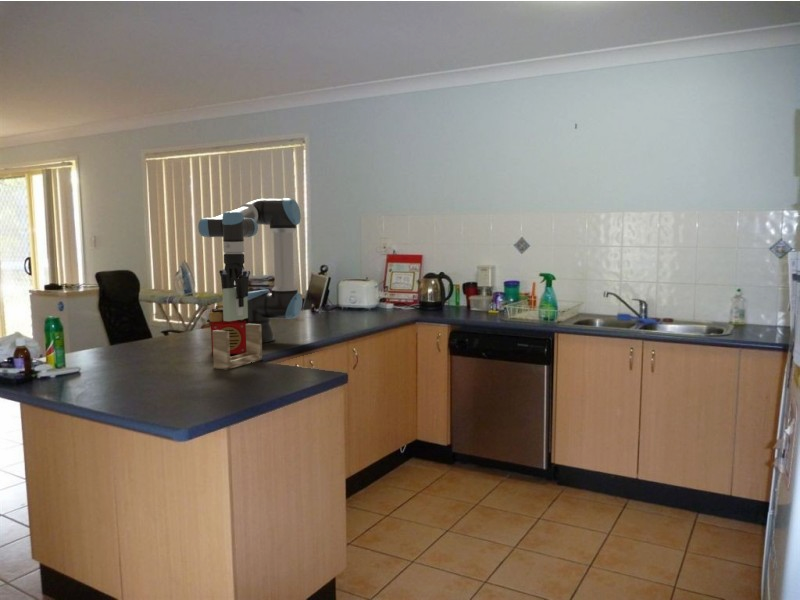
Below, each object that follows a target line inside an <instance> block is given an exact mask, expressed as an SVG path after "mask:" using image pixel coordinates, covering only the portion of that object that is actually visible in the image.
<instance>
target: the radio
mask: <svg viewBox="0 0 800 600" xmlns="http://www.w3.org/2000/svg"><path fill="white" fill-rule="evenodd" d="M208 317H209V318H208V319H209V322H210V335H211V337H210V338H211V339H210V340H211V353H212V356H213V332H212V331H213V330H223V331H229V343H230V355H239V354H243V353H246V323H247V324H248V323H249V315H248V318H245V319H240V320H234V321H223V304H217V305H216V306H215V307H214V308H211V310H210V311H209V313H208Z"/></svg>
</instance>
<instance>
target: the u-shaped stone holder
mask: <svg viewBox="0 0 800 600" xmlns="http://www.w3.org/2000/svg"><path fill="white" fill-rule="evenodd" d="M212 332H213V355H212V356H213V357H212V358H213V369H218V370H227V371H228V370H230V369H234V368H237V367H241V366H243V365H248V364H251V362H252V363H255V362H259V361H261V360H263V343H262V332H261V324H250V323H248V324H246V353H243V354H234V355H233V356H231V354H230V343H229V331H223V330H213V331H212Z"/></svg>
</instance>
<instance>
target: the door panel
mask: <svg viewBox="0 0 800 600" xmlns="http://www.w3.org/2000/svg"><path fill="white" fill-rule="evenodd" d="M221 290H222V291H221V292H223V293H222V305H223V308H222V309H223V321H234V320H240V319H245V318H248V304H247V297H244V306H243V315H241V316H236V299H237V298H236V297H237V290H236V286H234V288H225V289H222V288H221Z"/></svg>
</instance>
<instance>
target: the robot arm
mask: <svg viewBox="0 0 800 600" xmlns="http://www.w3.org/2000/svg"><path fill="white" fill-rule="evenodd" d="M301 218H302V217H301V209H300V206H299V204H298V202H297V201H296V200H295V199H294V198H288V197H287V198H286V197H283V198H280V197H279V198H275V197H274V198H258V199H255V200H251V201H249V202H246V203H243V204H241V205H240V206H239V207H238V208H237V209H233V210H231V211H224V212H223V213H222V214H220V215H217V216H214V217H203V218H200V220H199V221H198V225H197V228H198V229H197V230H198V233H199V235H200V236H202V237H204V238H209V239H210V238H223V240H222V242H223V243H222V245H223V253H224V254H223V263H224V265H225V266H224V269H221V270H219V271H218V273H219V275H220V281H221V290H222V289H225V288H234V287H236V290H237V297H236V298H237V299H236V316H241V315H243V306H244V297H247V304H248V315H249V323H250V324H261V332H262V344H263V343H269V342H272V341H275V334H274V331H273V327H272V325H271V319H286V320H288V319H289V320H290V319H297V318H298V316H299V315H301V314H300V313H301V311H302V308H303V295H302V294H301V293H300V292H298V288H297V287H296V286H295V272H294V270H295V269H294V266H295V265H294V231H296V230H297V226H298V225H300V223H301ZM258 225H268V226H269V229H270V231H272V233H273V258H274V259H273V261H274V262H273V264H274V269H273V270H274V271H273V272H274V286H273V287H272V289H271V292H270V290H269V289H260V290H253V291H249V284H250V283H249V280H250V279H249V277H250V274H251V271H250V270H246V269H245V267H244V264H245V254H244V253H245V242H244V241H245V239H244V238H251V237H253V236H256V234H257V233H258V231H259V226H258ZM221 292H222V291H221ZM222 294H223V292H222ZM246 324H247V323H246Z"/></svg>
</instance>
